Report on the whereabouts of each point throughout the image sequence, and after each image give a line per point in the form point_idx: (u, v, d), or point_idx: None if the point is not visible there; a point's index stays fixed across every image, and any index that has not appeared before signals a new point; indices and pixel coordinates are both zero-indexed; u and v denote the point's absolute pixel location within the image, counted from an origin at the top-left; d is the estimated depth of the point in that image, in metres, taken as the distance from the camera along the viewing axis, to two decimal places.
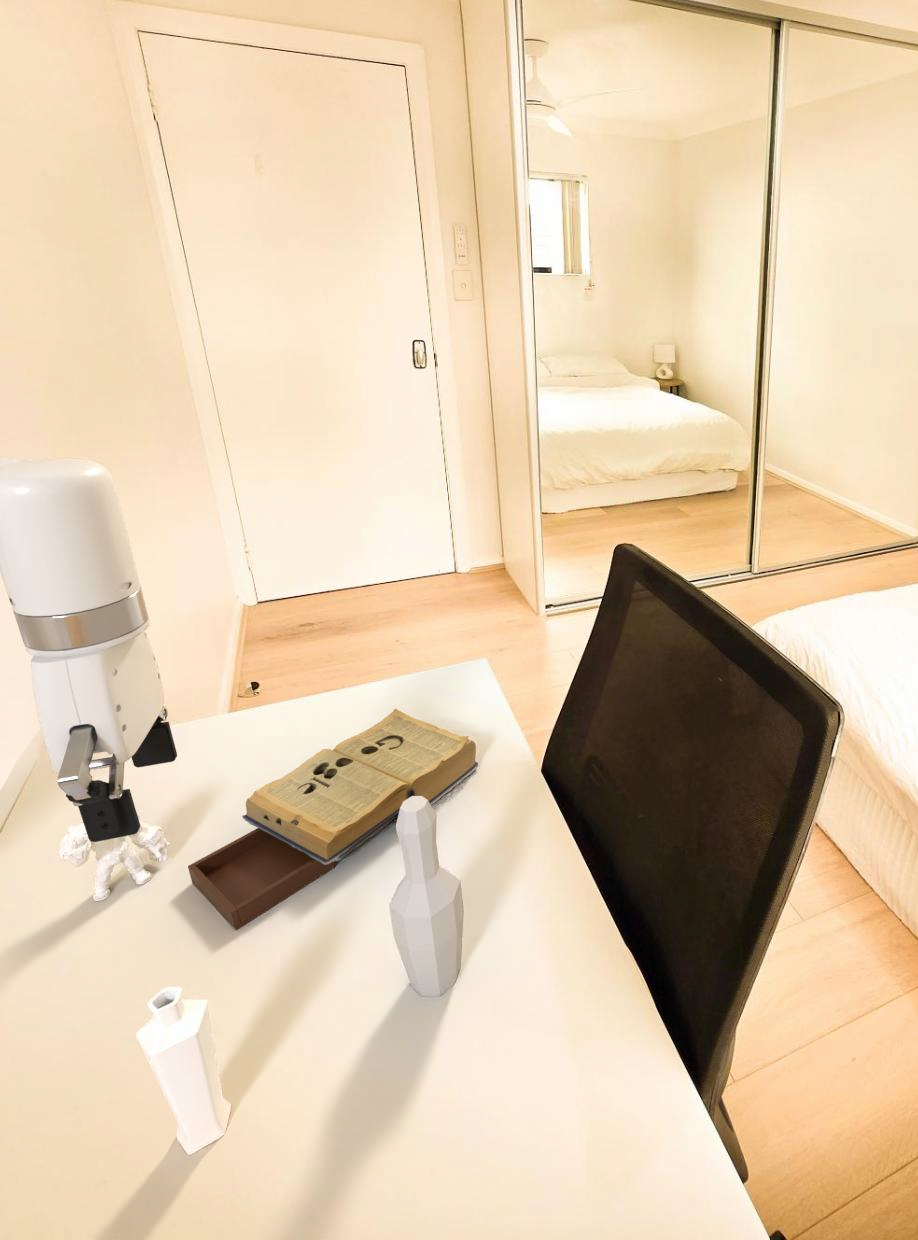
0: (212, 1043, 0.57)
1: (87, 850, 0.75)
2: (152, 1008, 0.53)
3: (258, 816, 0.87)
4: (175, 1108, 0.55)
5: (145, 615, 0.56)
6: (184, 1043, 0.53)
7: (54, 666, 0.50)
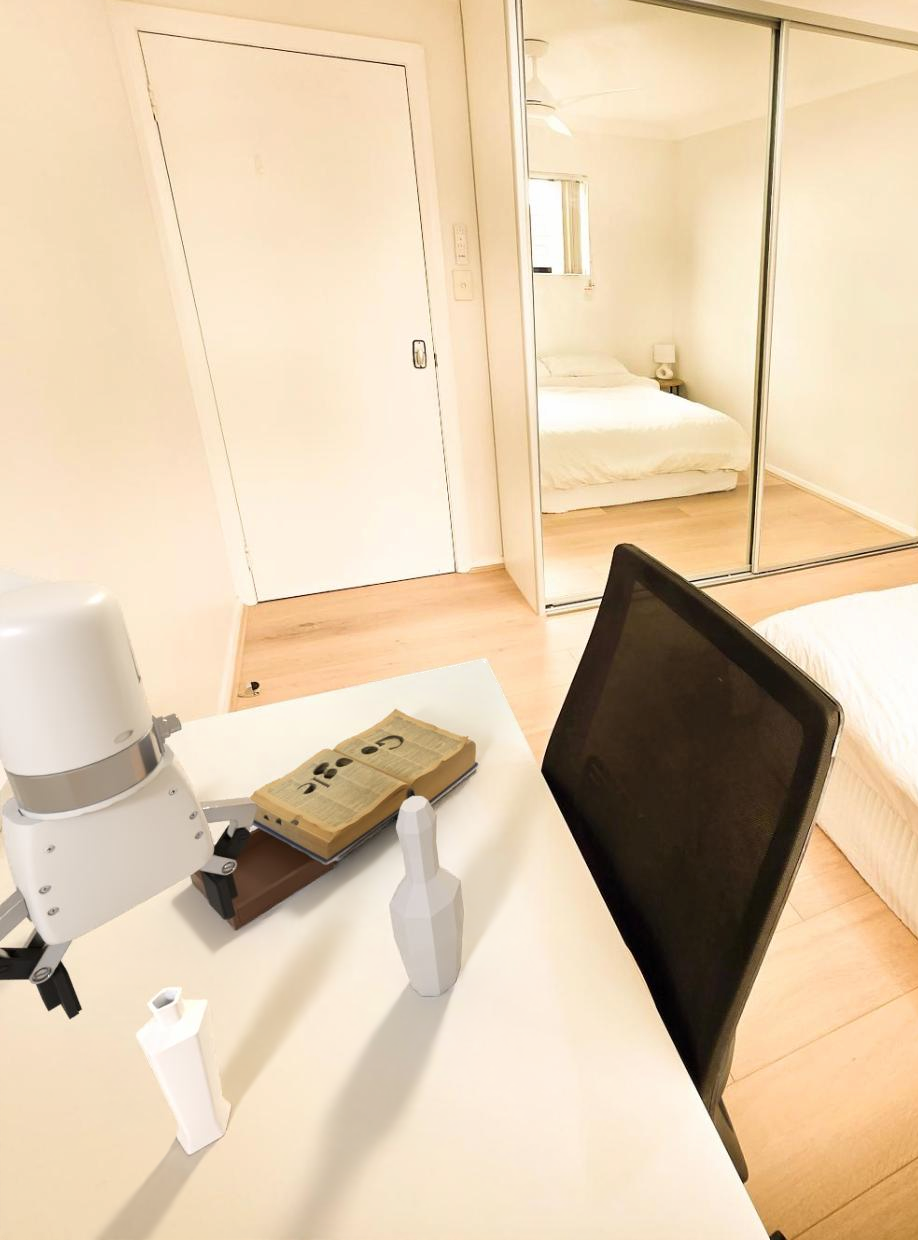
0: (212, 1043, 0.57)
1: None
2: (152, 1008, 0.53)
3: (258, 816, 0.87)
4: (175, 1108, 0.55)
5: (115, 788, 0.44)
6: (184, 1043, 0.53)
7: (3, 819, 0.43)
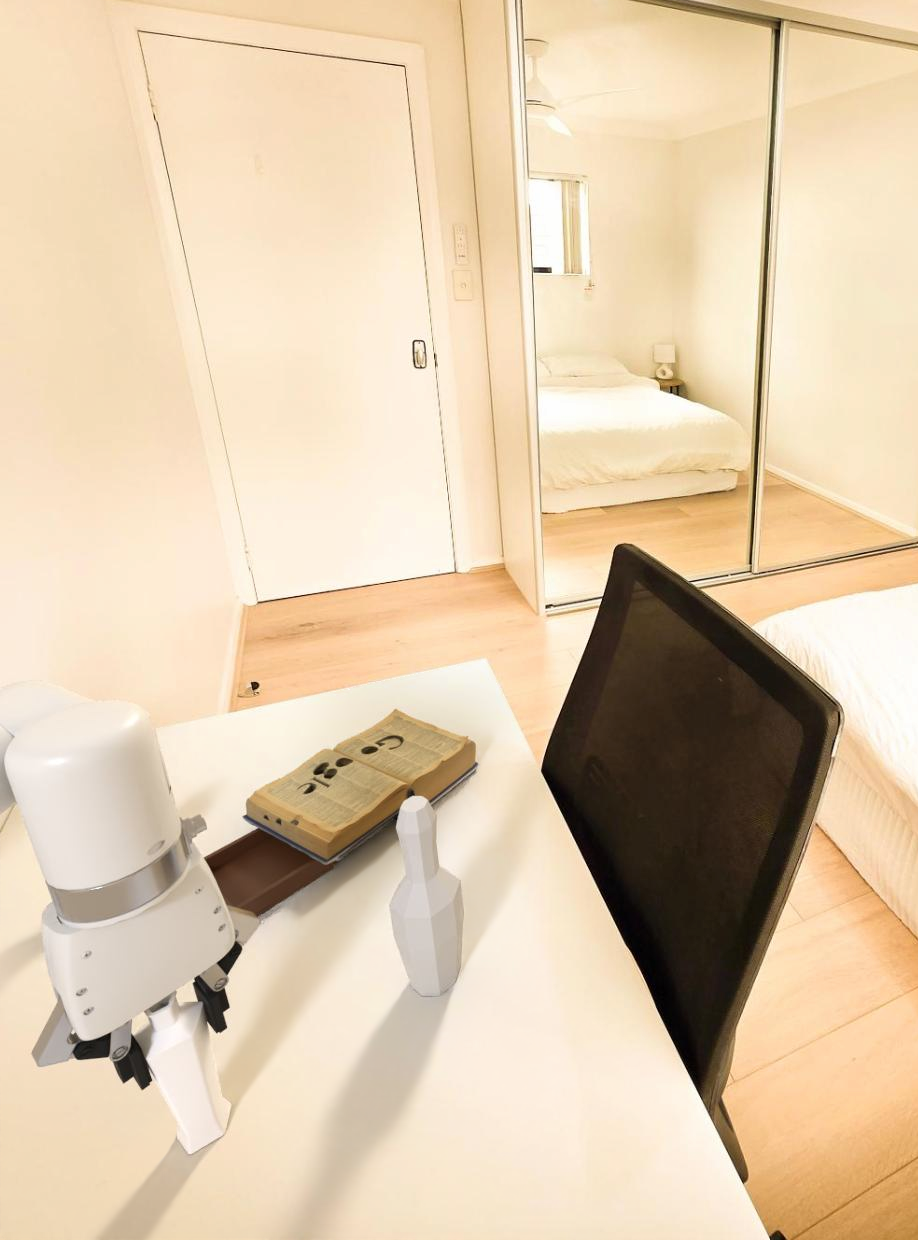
0: (209, 1044, 0.57)
1: None
2: (147, 1012, 0.52)
3: (258, 816, 0.87)
4: (173, 1109, 0.55)
5: (148, 896, 0.47)
6: (180, 1046, 0.53)
7: (43, 926, 0.46)
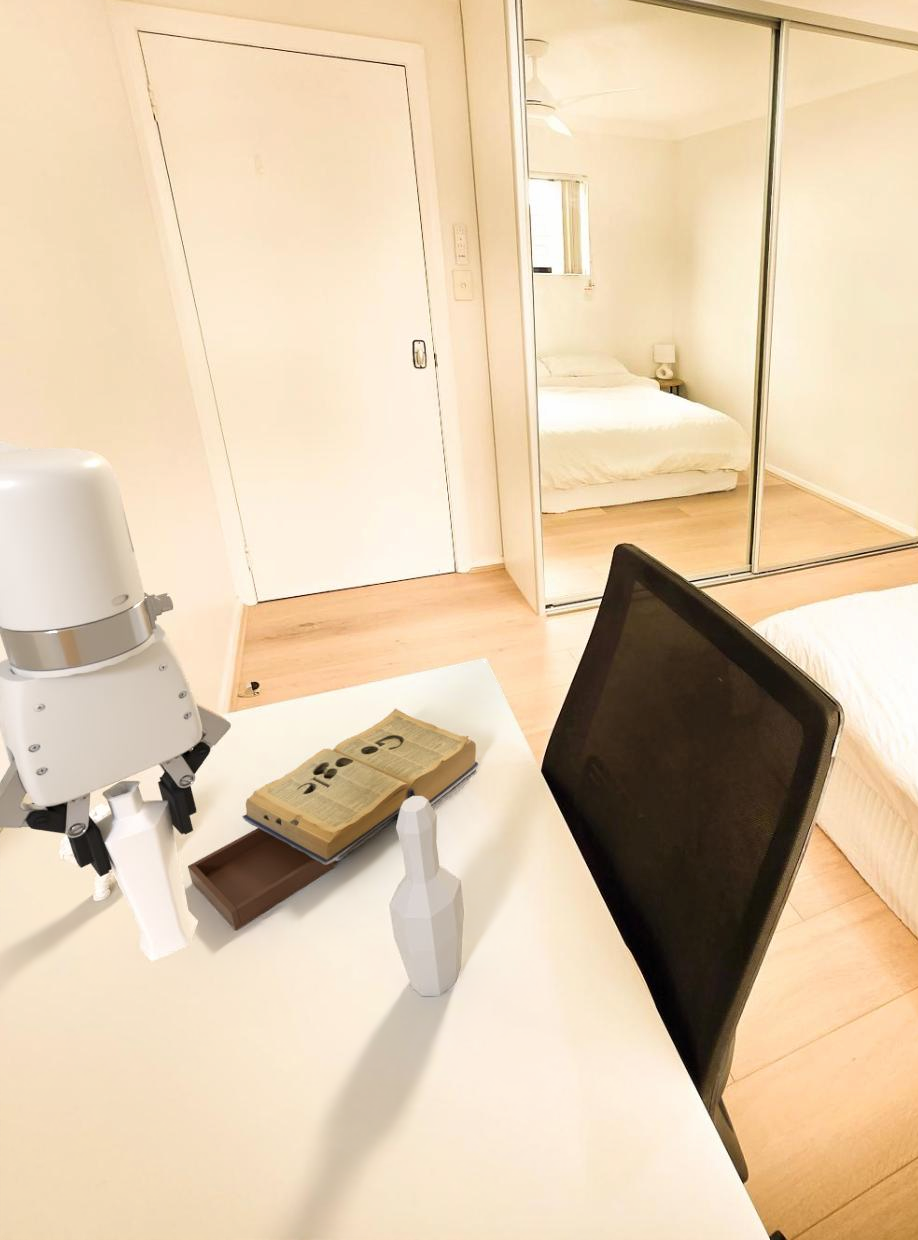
0: (175, 848, 0.54)
1: None
2: (107, 796, 0.50)
3: (258, 816, 0.87)
4: (135, 907, 0.52)
5: (106, 652, 0.45)
6: (141, 835, 0.51)
7: None
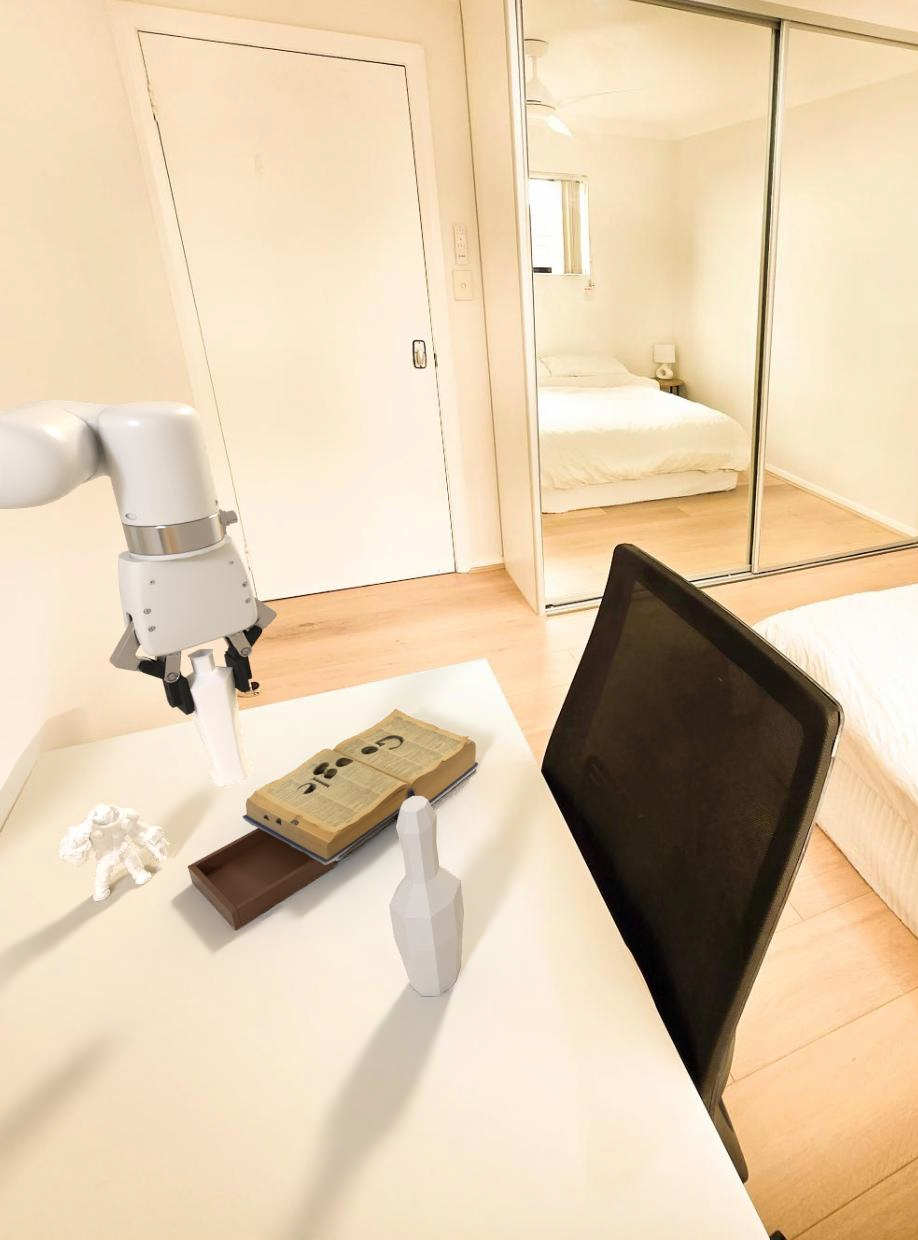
0: (236, 704, 0.73)
1: (87, 850, 0.75)
2: (191, 657, 0.69)
3: (258, 816, 0.87)
4: (209, 743, 0.71)
5: (196, 545, 0.64)
6: (216, 686, 0.70)
7: (120, 561, 0.63)
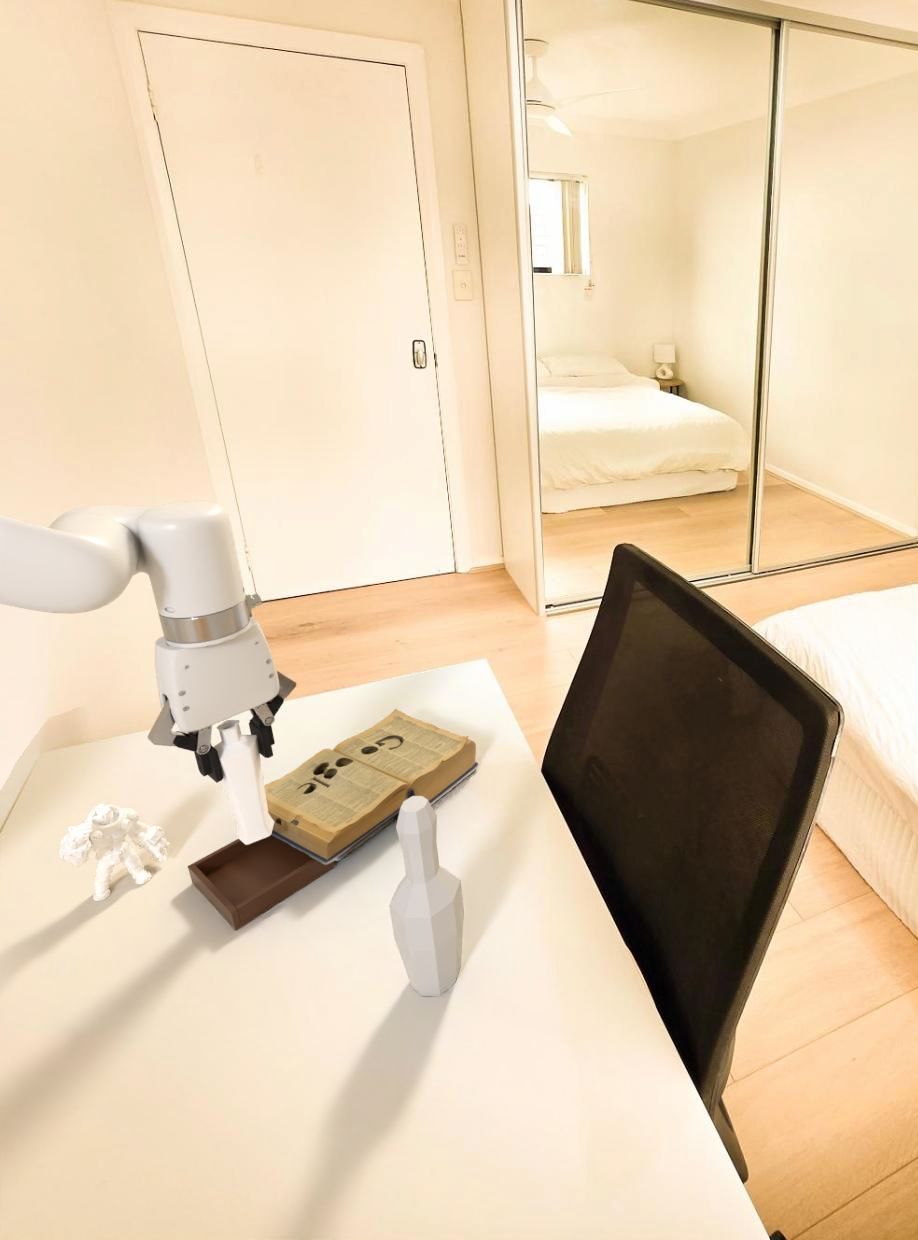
0: (260, 768, 0.80)
1: (87, 850, 0.75)
2: (220, 729, 0.75)
3: None
4: (236, 806, 0.78)
5: (226, 631, 0.70)
6: (242, 755, 0.76)
7: (157, 648, 0.69)
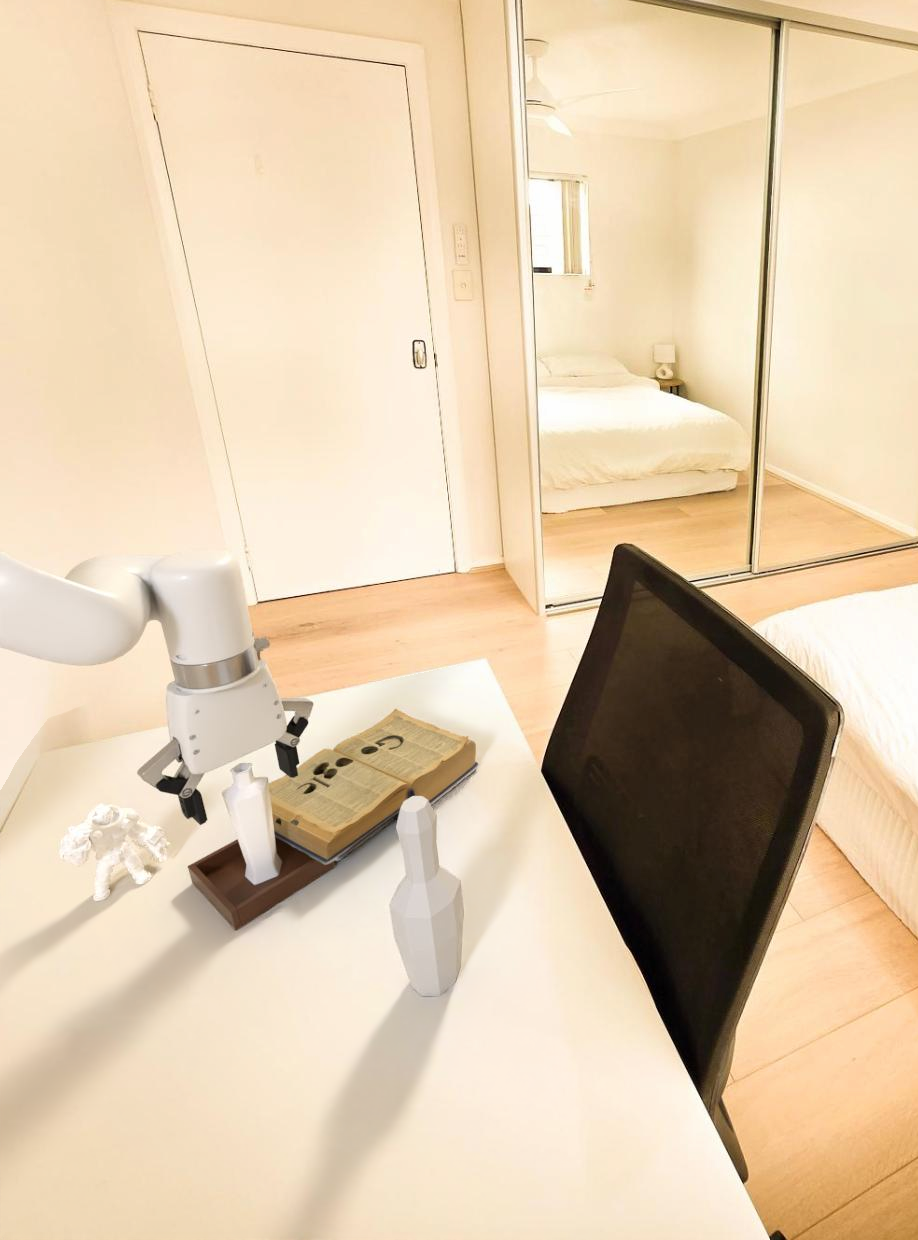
0: (270, 809, 0.82)
1: (87, 850, 0.75)
2: (233, 772, 0.77)
3: None
4: (246, 847, 0.79)
5: (235, 677, 0.72)
6: (254, 798, 0.78)
7: (168, 693, 0.71)
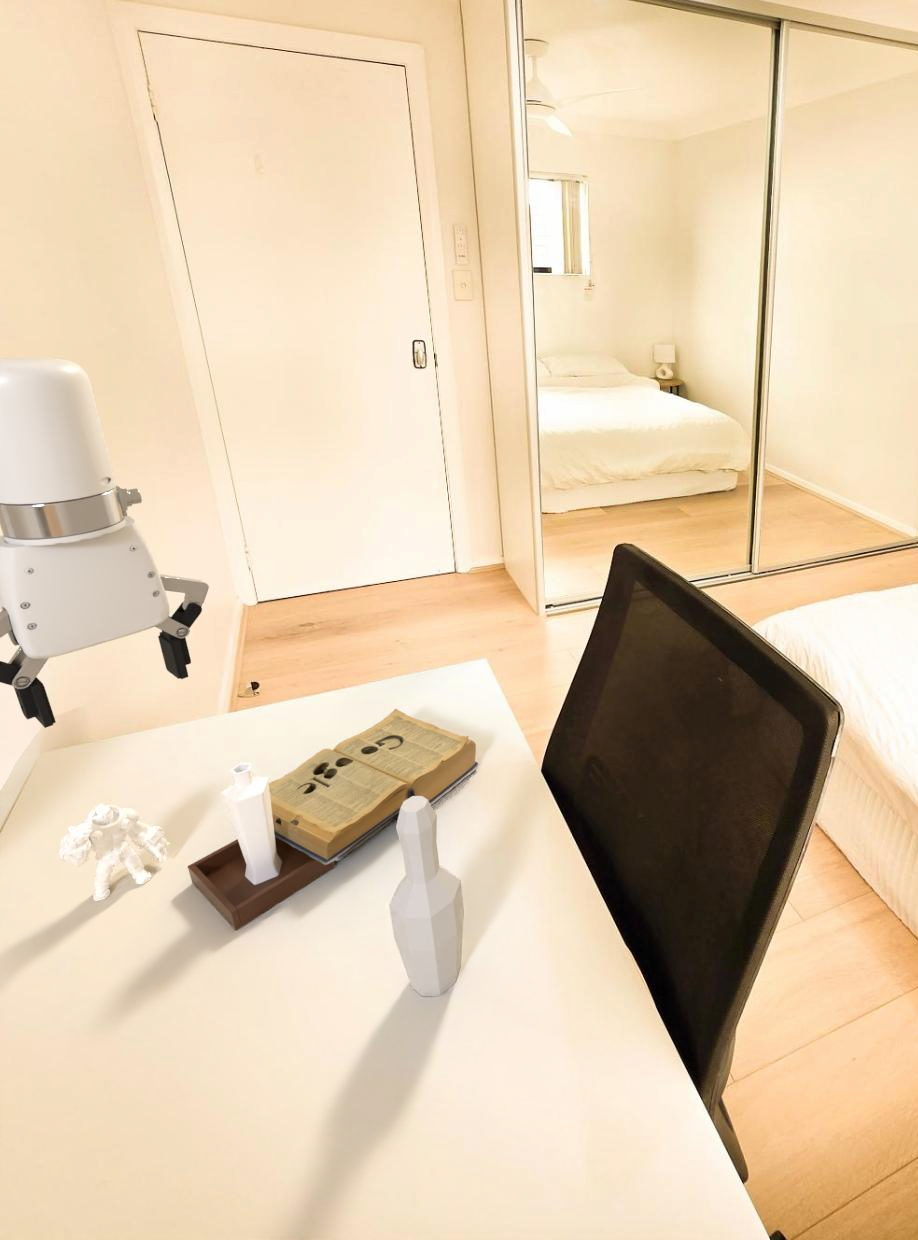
0: (270, 809, 0.82)
1: (87, 850, 0.75)
2: (233, 772, 0.77)
3: None
4: (246, 847, 0.79)
5: (84, 527, 0.54)
6: (254, 798, 0.78)
7: None
